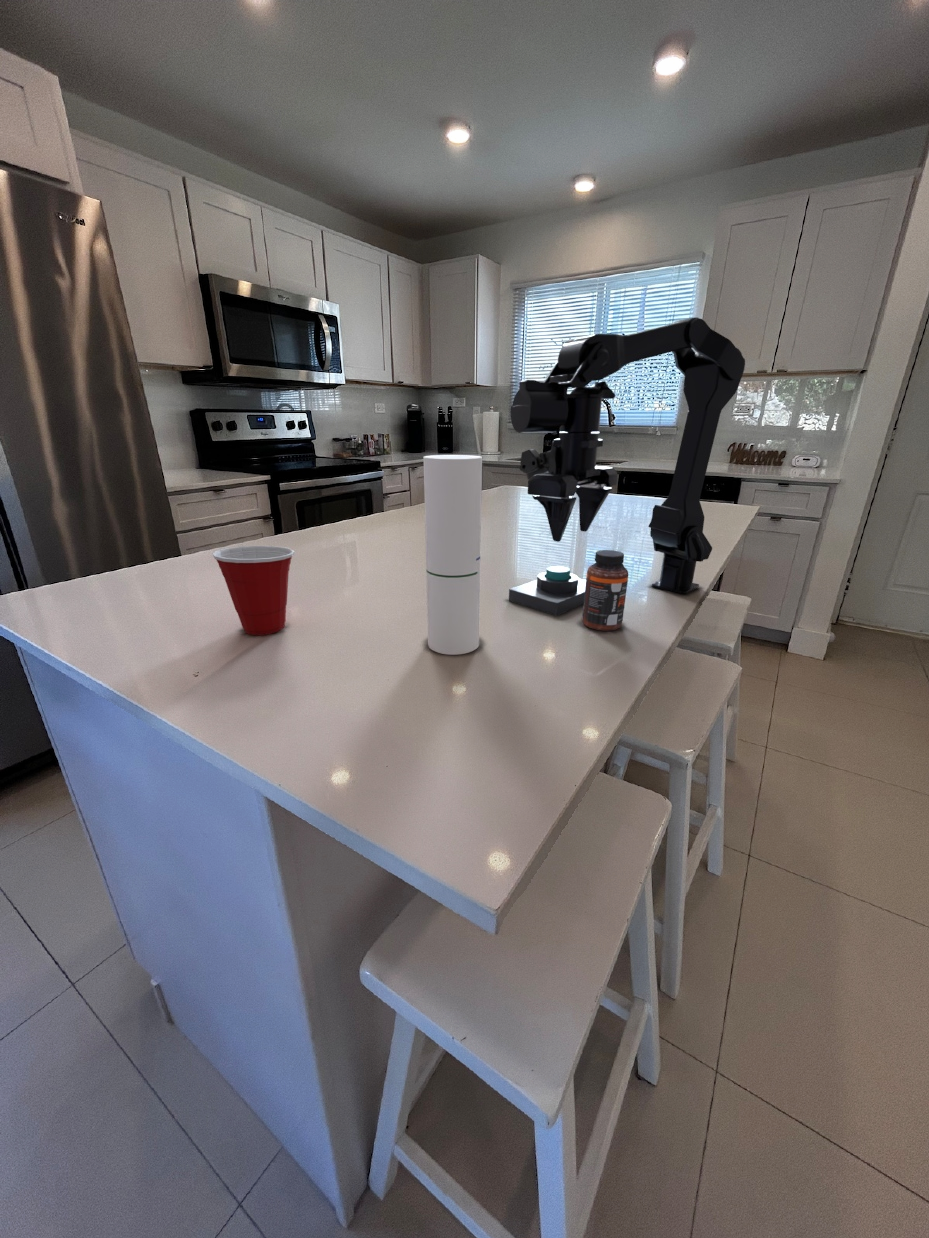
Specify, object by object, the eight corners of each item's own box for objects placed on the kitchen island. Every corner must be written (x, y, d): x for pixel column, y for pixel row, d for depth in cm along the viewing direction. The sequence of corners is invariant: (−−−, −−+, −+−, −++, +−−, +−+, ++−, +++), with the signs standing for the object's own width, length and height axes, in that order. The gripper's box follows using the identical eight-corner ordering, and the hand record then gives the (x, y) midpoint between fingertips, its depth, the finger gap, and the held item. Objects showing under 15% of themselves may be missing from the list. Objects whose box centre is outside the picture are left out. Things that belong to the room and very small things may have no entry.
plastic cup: (318, 621, 79) (310, 545, 74) (266, 647, 70) (253, 563, 65) (265, 610, 83) (254, 537, 78) (209, 634, 74) (193, 553, 69)
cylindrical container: (485, 637, 73) (489, 455, 64) (469, 657, 67) (471, 459, 58) (439, 630, 75) (436, 454, 66) (419, 650, 69) (413, 458, 60)
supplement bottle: (623, 634, 74) (633, 559, 70) (581, 630, 76) (589, 556, 71) (620, 619, 80) (629, 548, 76) (581, 616, 81) (588, 546, 77)
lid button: (554, 574, 90) (555, 564, 90) (574, 578, 88) (574, 569, 87) (541, 578, 88) (541, 569, 87) (560, 583, 85) (561, 573, 84)
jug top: (555, 583, 97) (557, 563, 95) (602, 595, 90) (604, 574, 89) (508, 601, 88) (509, 578, 86) (556, 616, 81) (558, 592, 80)
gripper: (560, 430, 87) (554, 521, 93) (498, 432, 73) (496, 539, 79) (623, 431, 80) (612, 529, 86) (568, 434, 67) (559, 550, 73)
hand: (570, 536), depth 81 cm, fingers open, 9 cm apart
